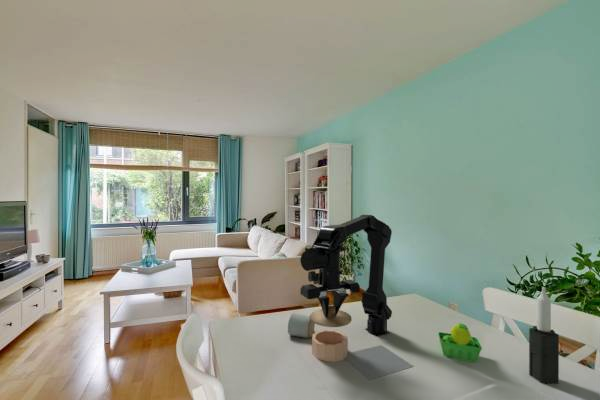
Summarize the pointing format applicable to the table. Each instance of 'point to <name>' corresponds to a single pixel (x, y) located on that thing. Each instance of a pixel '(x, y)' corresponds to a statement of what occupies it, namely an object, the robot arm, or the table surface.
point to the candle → (544, 344)
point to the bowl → (329, 345)
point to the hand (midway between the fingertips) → (330, 316)
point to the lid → (330, 318)
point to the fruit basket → (460, 344)
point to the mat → (376, 362)
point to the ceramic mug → (300, 325)
